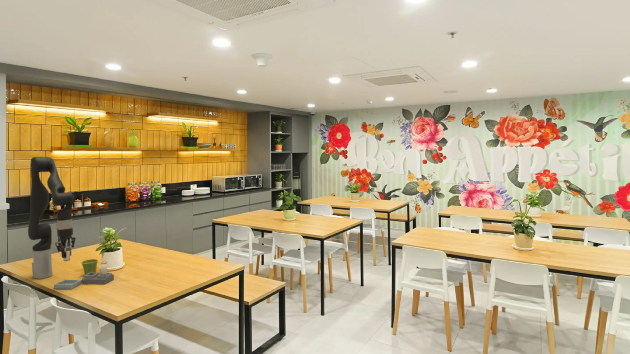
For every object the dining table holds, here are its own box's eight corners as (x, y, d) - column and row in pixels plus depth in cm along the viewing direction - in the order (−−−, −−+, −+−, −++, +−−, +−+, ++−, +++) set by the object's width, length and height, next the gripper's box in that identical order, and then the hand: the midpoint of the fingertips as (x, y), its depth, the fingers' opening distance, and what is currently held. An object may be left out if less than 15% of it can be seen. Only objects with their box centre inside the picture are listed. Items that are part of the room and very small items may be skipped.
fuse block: (81, 284, 221) (81, 276, 221) (91, 278, 230) (91, 271, 230) (104, 284, 220) (104, 277, 220) (113, 279, 229) (113, 271, 229)
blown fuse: (62, 261, 215) (61, 245, 214) (66, 259, 218) (65, 244, 217) (67, 261, 215) (66, 245, 214) (71, 259, 218) (70, 244, 217)
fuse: (100, 277, 223) (99, 262, 222) (103, 275, 226) (102, 261, 226) (105, 277, 223) (104, 263, 222) (108, 275, 226) (108, 261, 226)
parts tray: (53, 289, 213) (53, 284, 213) (64, 283, 222) (64, 279, 222) (71, 289, 213) (71, 284, 213) (81, 283, 221) (81, 279, 221)
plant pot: (79, 277, 232) (78, 264, 231) (84, 272, 241) (83, 259, 240) (96, 276, 235) (95, 262, 234) (100, 271, 244) (100, 258, 243)
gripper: (67, 224, 222) (69, 253, 223) (49, 230, 208) (51, 260, 209) (79, 225, 222) (81, 253, 223) (62, 230, 208) (64, 260, 209)
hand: (66, 256), depth 216 cm, fingers closed on blown fuse, 3 cm apart
